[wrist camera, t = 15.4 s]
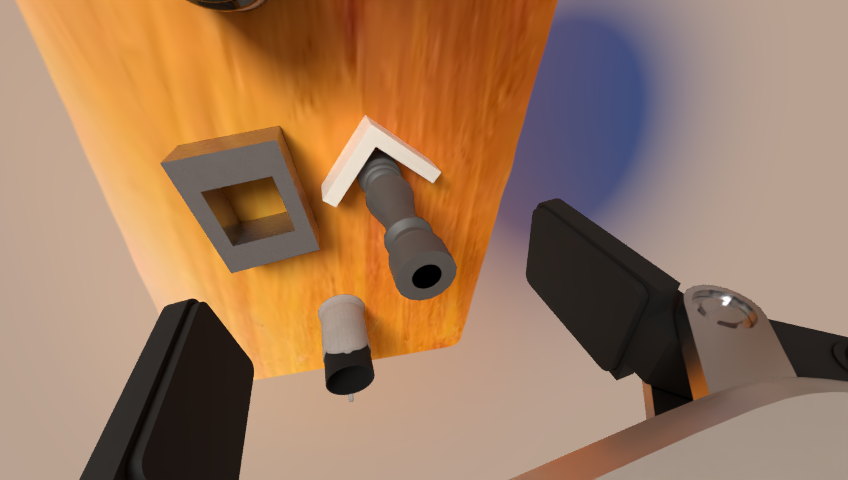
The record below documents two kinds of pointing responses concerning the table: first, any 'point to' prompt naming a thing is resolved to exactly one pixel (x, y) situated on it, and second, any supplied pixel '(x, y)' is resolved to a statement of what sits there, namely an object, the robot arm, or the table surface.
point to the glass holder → (345, 345)
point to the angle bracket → (359, 152)
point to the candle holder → (405, 231)
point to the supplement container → (229, 5)
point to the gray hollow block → (237, 163)
